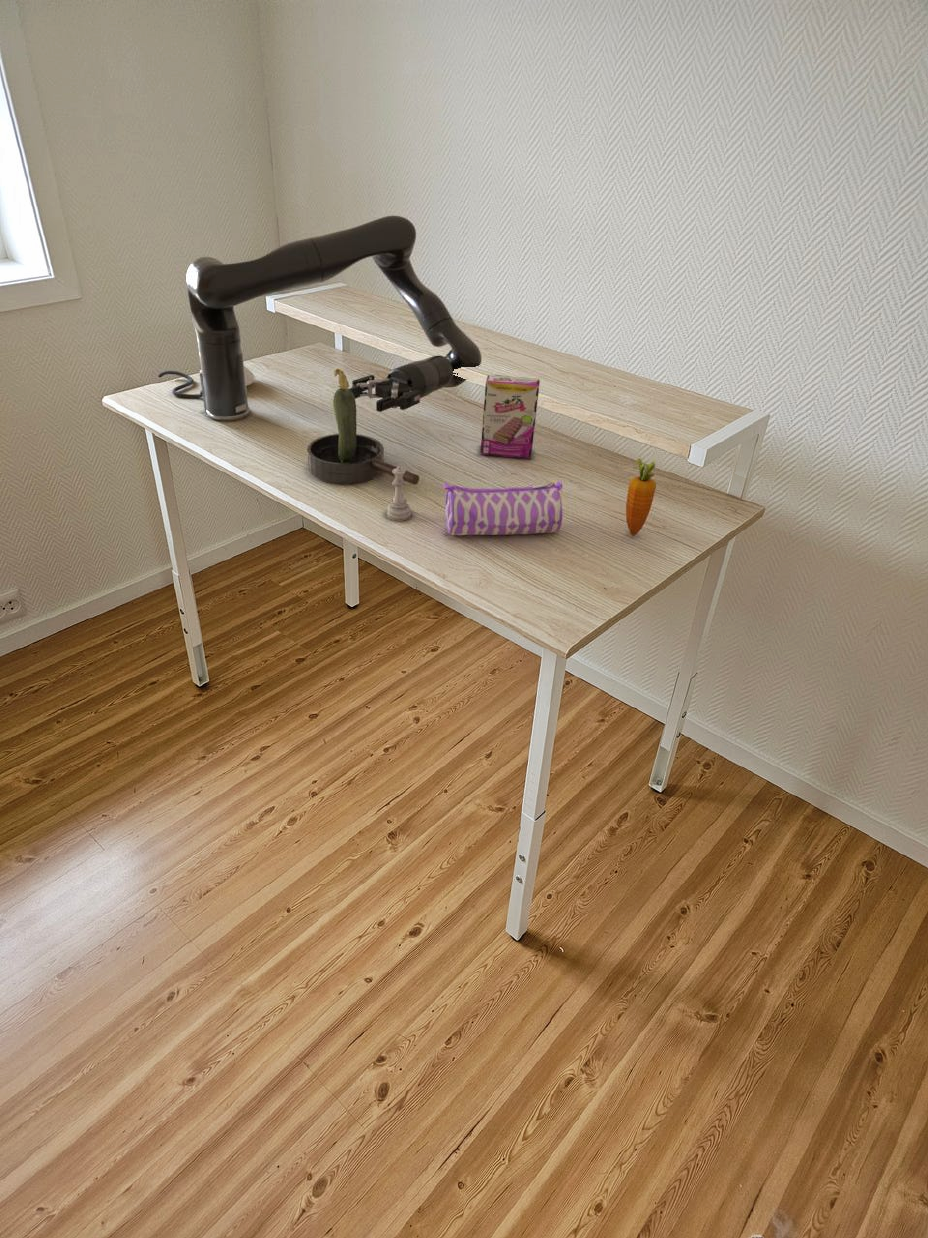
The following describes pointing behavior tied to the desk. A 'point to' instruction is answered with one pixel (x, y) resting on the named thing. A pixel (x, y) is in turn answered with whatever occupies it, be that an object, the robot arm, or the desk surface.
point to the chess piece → (398, 498)
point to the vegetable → (345, 418)
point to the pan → (331, 469)
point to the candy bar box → (509, 416)
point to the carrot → (640, 498)
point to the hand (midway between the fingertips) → (361, 401)
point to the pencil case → (503, 510)
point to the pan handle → (388, 470)
